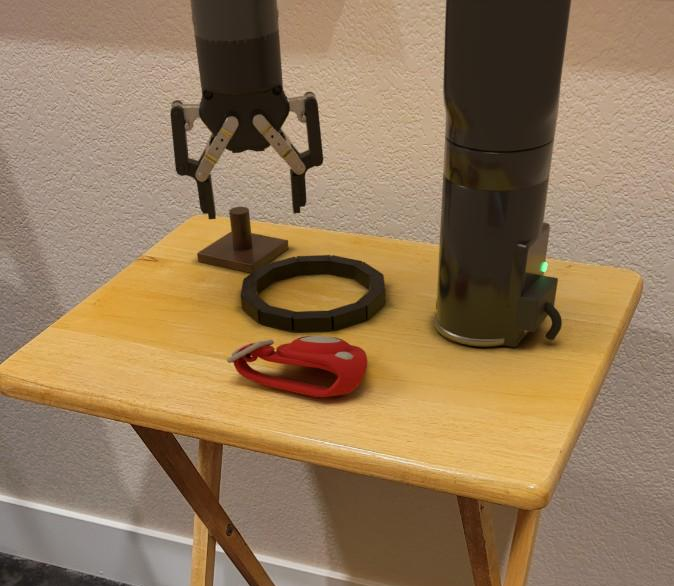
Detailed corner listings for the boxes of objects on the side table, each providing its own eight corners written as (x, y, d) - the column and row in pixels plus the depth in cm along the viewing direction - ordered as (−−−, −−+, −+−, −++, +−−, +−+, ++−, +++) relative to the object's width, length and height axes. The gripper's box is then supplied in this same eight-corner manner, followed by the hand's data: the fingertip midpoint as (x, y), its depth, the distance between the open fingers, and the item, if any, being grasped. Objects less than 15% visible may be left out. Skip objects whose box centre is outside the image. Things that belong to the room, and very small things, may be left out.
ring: (408, 283, 94) (408, 270, 93) (341, 344, 85) (340, 329, 84) (290, 259, 99) (289, 246, 98) (215, 313, 90) (213, 299, 89)
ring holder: (288, 248, 102) (285, 204, 98) (253, 273, 97) (248, 227, 93) (235, 237, 104) (230, 193, 101) (197, 261, 100) (191, 216, 96)
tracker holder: (333, 328, 85) (394, 344, 77) (332, 374, 87) (390, 394, 79) (218, 334, 79) (272, 351, 71) (219, 383, 81) (271, 406, 73)
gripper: (153, 41, 75) (183, 233, 86) (319, 30, 75) (328, 222, 87) (157, 22, 80) (185, 205, 91) (312, 12, 81) (321, 195, 92)
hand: (254, 213), depth 89 cm, fingers open, 8 cm apart
